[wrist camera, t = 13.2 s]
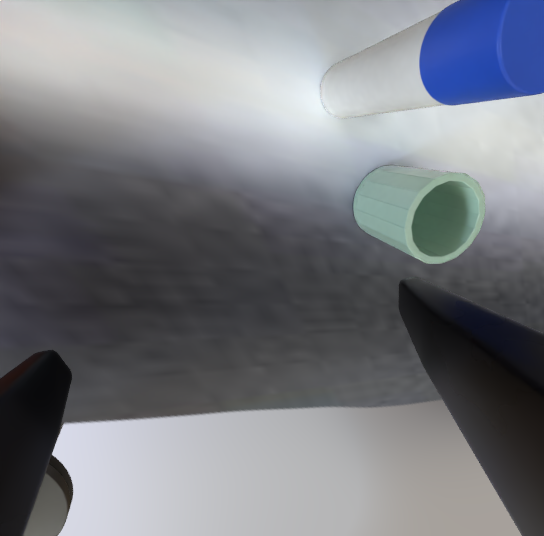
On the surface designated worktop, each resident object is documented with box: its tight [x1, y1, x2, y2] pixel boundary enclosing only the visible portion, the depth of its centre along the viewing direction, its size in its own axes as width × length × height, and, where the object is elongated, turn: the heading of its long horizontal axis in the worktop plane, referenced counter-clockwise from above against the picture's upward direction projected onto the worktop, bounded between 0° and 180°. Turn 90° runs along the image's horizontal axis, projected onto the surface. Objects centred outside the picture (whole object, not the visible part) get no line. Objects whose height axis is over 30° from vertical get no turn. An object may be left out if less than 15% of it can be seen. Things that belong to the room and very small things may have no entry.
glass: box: [353, 165, 485, 264], centre depth 19 cm, size 5×5×6 cm
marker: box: [320, 0, 544, 118], centre depth 13 cm, size 3×3×12 cm
